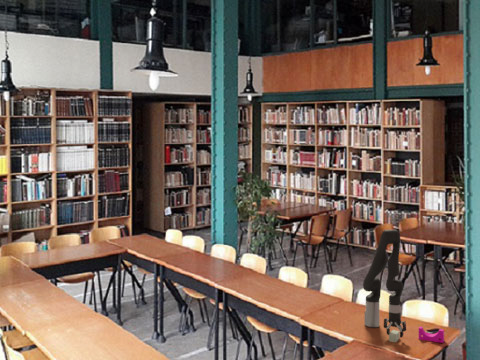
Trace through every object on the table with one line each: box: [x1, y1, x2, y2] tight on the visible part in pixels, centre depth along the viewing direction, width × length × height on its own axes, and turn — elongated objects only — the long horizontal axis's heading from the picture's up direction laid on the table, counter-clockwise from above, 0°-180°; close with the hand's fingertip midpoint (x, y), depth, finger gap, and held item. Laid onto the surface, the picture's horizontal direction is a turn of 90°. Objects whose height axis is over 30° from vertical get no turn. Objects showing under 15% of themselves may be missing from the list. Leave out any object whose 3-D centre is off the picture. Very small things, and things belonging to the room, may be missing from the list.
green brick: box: [388, 329, 401, 343], centre depth 352 cm, size 4×9×5 cm, turn 151°
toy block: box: [418, 326, 445, 344], centre depth 352 cm, size 15×6×8 cm, turn 64°
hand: (394, 336), depth 351 cm, fingers open, 8 cm apart
